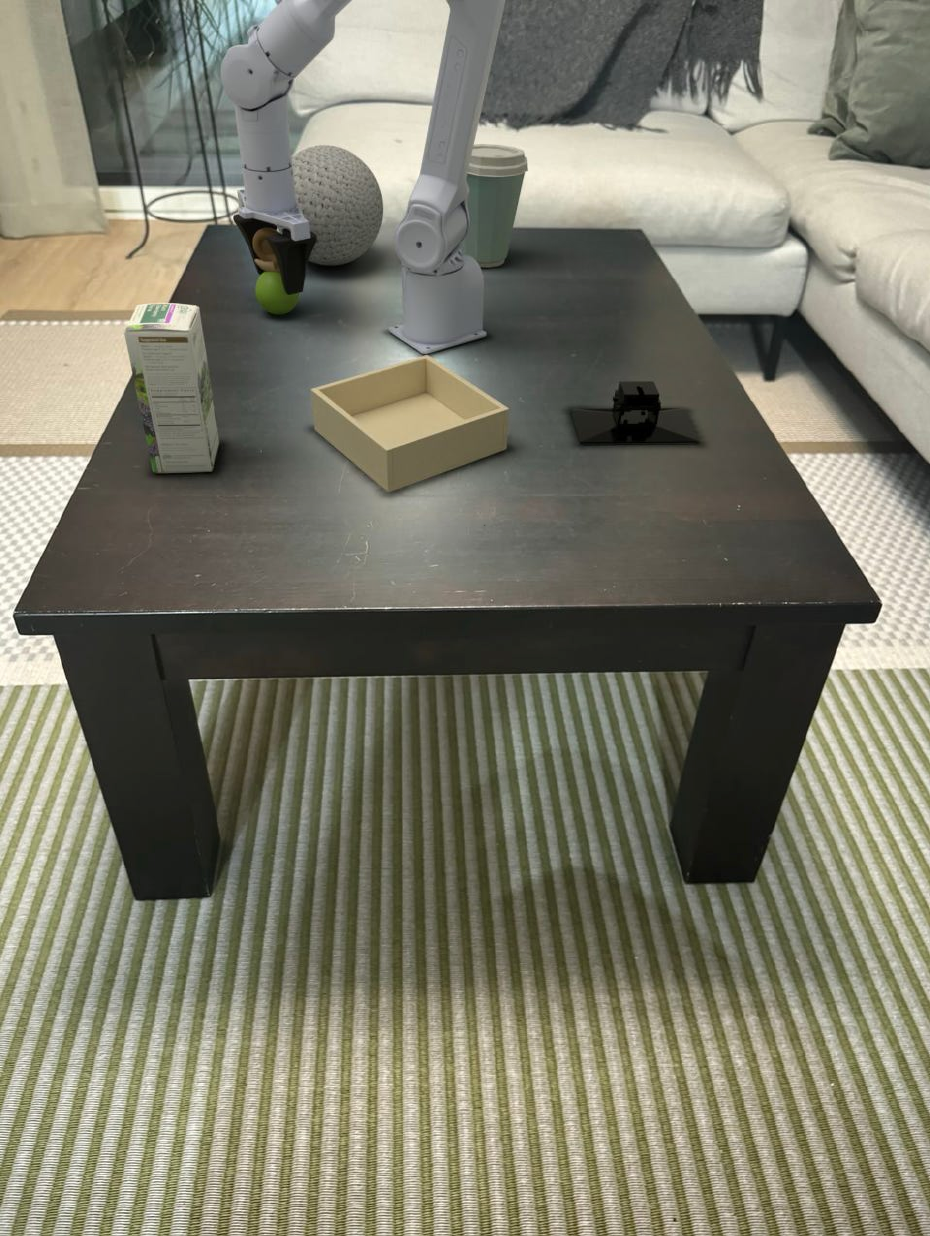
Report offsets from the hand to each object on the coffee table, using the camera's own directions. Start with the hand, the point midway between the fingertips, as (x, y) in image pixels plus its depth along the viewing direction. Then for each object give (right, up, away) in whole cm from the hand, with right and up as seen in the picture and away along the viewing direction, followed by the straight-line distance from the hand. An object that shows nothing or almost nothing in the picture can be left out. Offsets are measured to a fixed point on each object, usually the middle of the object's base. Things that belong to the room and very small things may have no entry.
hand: (280, 282), depth 114 cm
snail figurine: (0, -3, +3) cm, 4 cm away
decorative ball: (+4, +9, +16) cm, 19 cm away
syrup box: (-4, -26, -24) cm, 36 cm away
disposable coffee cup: (+26, +10, +18) cm, 33 cm away
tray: (+17, -23, -20) cm, 35 cm away
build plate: (+41, -22, -17) cm, 49 cm away
